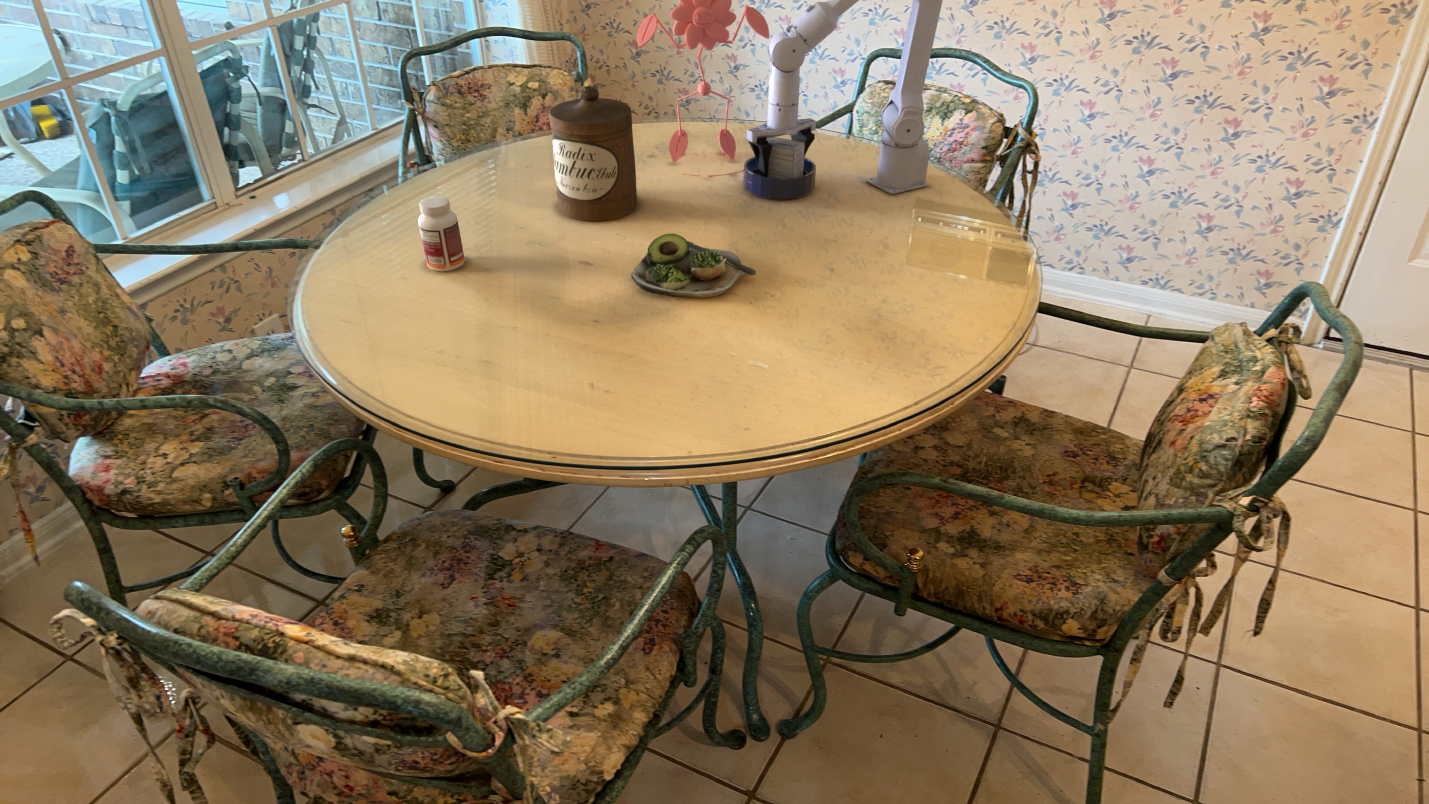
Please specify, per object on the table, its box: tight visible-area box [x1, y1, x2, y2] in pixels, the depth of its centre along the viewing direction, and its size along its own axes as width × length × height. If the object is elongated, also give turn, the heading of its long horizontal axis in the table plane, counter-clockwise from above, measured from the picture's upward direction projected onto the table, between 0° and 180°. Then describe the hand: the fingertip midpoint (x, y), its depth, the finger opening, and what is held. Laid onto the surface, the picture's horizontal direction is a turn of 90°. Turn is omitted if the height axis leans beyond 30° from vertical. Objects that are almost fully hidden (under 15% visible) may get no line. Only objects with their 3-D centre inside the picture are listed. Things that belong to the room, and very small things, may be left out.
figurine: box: [636, 0, 770, 178], centre depth 178 cm, size 15×26×35 cm, turn 94°
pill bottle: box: [417, 195, 465, 272], centre depth 147 cm, size 6×6×11 cm
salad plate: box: [630, 233, 758, 299], centre depth 146 cm, size 19×18×5 cm
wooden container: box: [548, 86, 638, 222], centre depth 164 cm, size 15×15×22 cm
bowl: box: [742, 155, 817, 201], centre depth 177 cm, size 14×14×4 cm
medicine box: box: [758, 136, 805, 179], centre depth 176 cm, size 8×4×9 cm, turn 61°
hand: (779, 171), depth 177 cm, fingers closed on medicine box, 7 cm apart
